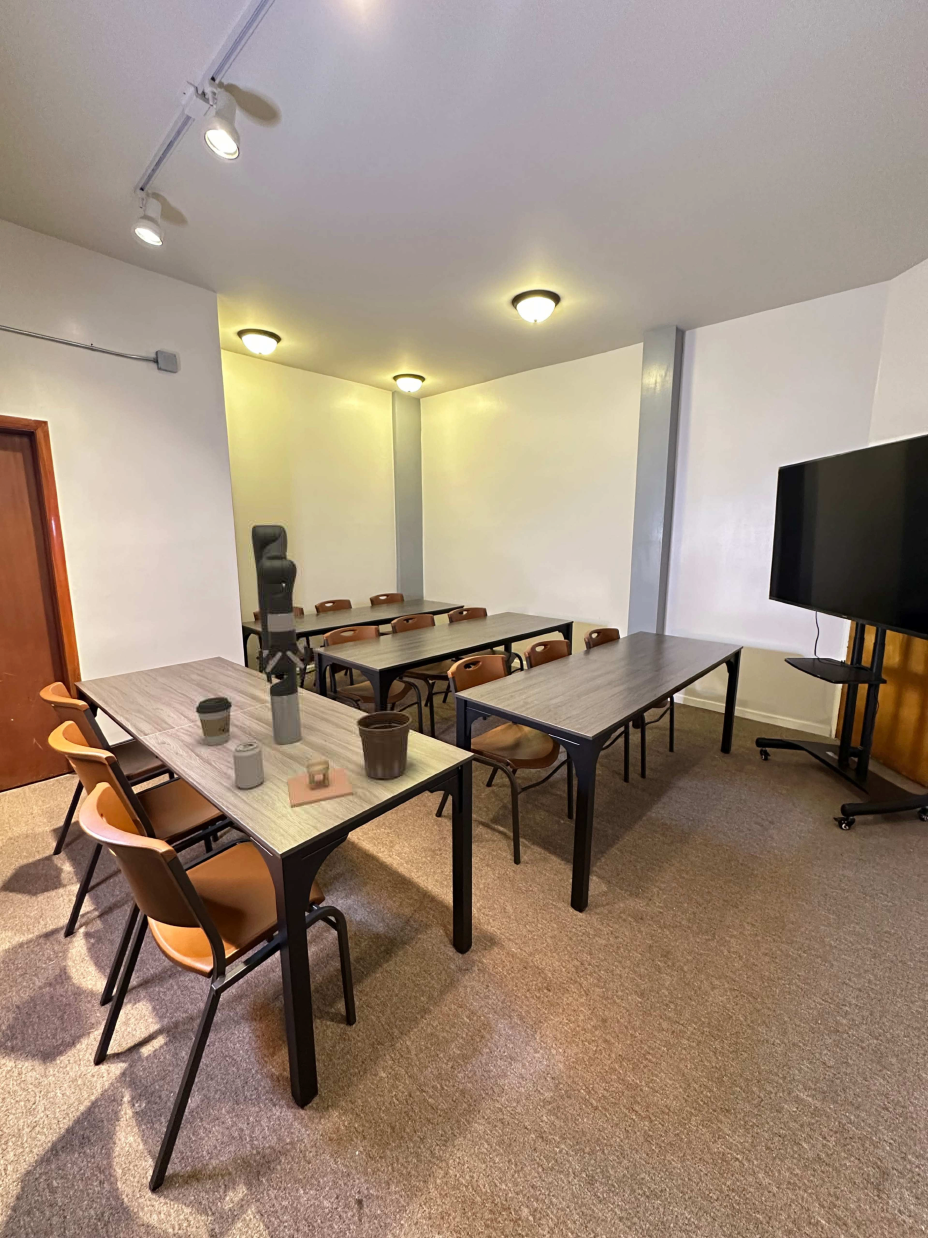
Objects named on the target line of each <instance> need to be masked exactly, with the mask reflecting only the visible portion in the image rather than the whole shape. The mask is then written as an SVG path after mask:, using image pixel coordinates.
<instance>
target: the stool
mask: <svg viewBox="0 0 928 1238" xmlns="http://www.w3.org/2000/svg"><path fill="white" fill-rule="evenodd" d="M329 770H330V762H329V760H328V759H326V758H317V759H312V760H310V761H308V762H307V763H306V772H307V775H308V774H309V784H310V786H311V790H315V778H314V775H320V774H323V781H325V787H329V774H328V771H329Z"/></svg>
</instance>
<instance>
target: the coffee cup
mask: <svg viewBox="0 0 928 1238" xmlns="http://www.w3.org/2000/svg"><path fill="white" fill-rule="evenodd" d="M232 706H233V705H232V702H231V701H229V698H228V697H226V696H225V697H223V696H217V697H209V698H206V699H203V700H200V701H199V702H198V704H197V706H196V707H195V712H196V713H197V714H198V718H199V722H200V725H201V730H202V733H203V737H204V741H205V742H204V743H206V745H207V746H208V745H209V747H215V746H216V747H217V746H220V745H224V744H227V743H228V742H229V740H230V728H231V708H232Z"/></svg>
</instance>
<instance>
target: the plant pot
mask: <svg viewBox="0 0 928 1238" xmlns="http://www.w3.org/2000/svg"><path fill="white" fill-rule="evenodd" d="M412 720H413V719H412V716H411V715H409V714H408V713H405V712H400V711H393V710H392V711H391V710H389V711H387V710H385V711H379V712H378V711H377V712H372V713H368V714H365V715H363V716H361V717H359V718H358V719H357V720H356V727H357V728H358V734H359V737H360V740H361V746H362V753H363V762H364V768H365V774H366V775H367V776H368V777H370V779H371V778H372V779H375V780H380V779H384V780H391V779H394V778H397V777H399V776H402V775H403V774H404V773H405V772H406V770H407V757H408V743H409V733H410V726H411V723H412Z"/></svg>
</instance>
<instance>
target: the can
mask: <svg viewBox="0 0 928 1238" xmlns="http://www.w3.org/2000/svg"><path fill="white" fill-rule="evenodd" d="M232 756H233V757H232V758H233V766H234V775H235V785H236V786H237V787H239V788H240V789H242V790H243V789H244V790H249V789H254V788H257V787H259V786H260V785H262V784H261V783H263V782H264V780H265V774H264V762H263V751H262V746H261V745H259V742H258V741H255V740H248V741H243V742H240V743H237V744H236V745H235V746H234V750H233V752H232Z"/></svg>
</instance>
